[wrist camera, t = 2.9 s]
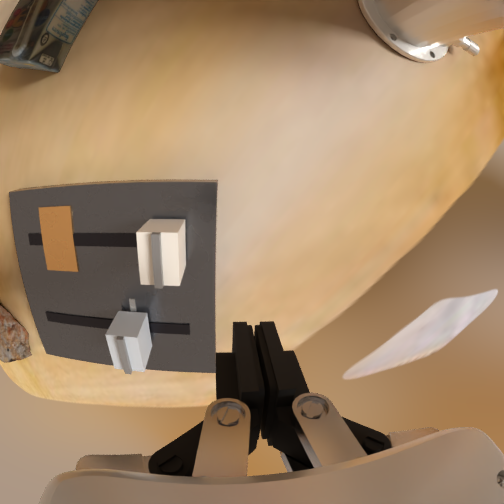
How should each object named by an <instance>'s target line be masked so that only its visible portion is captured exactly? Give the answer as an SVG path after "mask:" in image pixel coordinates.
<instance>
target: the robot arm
mask: <svg viewBox="0 0 504 504" xmlns="http://www.w3.org/2000/svg"><path fill="white" fill-rule="evenodd" d="M358 3H359V7H360V9H361V11H362V13H363V16H364V17H365V19H366V20H367V22H368V23H369V25H370V26H371V27H372V29H373V30H374V31H375V32H376V34H377V35H378V36H379V37H380V38H381V39H382V40H383V41H384V42H385V43H387V44H388V45H389V46H390V47H391V48H392V49H394V50H395V51H397V52H398V53H400V54H401V55H403V56H405V57H407V58H409V59H412V60H415V61H418V62H424V63H427V62H433V61H436V60H439V59H441V58H442V57H444V55H445V54H446V53H447V50H448V47H449V46H451V45H454V46H456V47H462V48H463V49H464V50H465V51H467V52H468V53H470V54H471V55H473V56H476V55H477V54H478V53H479V46H478V45H477V44H476V43H474V42H473V41H472V40H470V39H469V38H467V37H469V36H472V35H476V34H480V33H484V32H488V31H492V30H496V29H501V28H504V0H358ZM216 398H217V400H216V401H214V402H212V403H211V404H210V405H209V406H208V407H207V410H206V413H205V417H204V420H203V421H202V422H201V423H199V424H198V425H196V426H195V427H194V428H192V429H191V430H189V431H187V432H186V433H184V434H183V435H182V436H180V437H179V438H177V439H175V440H174V441H172V442H171V443H169V444H168V445H166V446H165V447H163V448H161V449H160V450H158V451H157V452H155V453H154V454H153V455H152V456H142V454H131V455H86V456H84V457H82V458H80V460H79V461H78V462H77V465H76V470H74V471H69V472H65V473H62V474H59V475H57V476H55V477H54V478H53V479H52V480H51V481H50V482H49V484H48V485H47V487H46V488H45V490H44V492H43V495H42V497H41V499H40V502H39V504H504V455H503V453H502V452H501V451H500V449H499V448H498V447H497V446H496V444H495V443H494V442H493V441H492V440H491V439H490V438H489V437H488V436H487V435H486V434H485V433H484V432H482V431H481V430H479V429H476V428H470V427H468V428H467V427H462V428H452V429H447V430H442V431H439V430H437V429H435V428H421V429H414V430H407V431H399V432H390V433H389V434H388V435H384V434H383V433H381V432H378V431H375V430H373V429H371V428H368V427H365V426H363V425H360V424H358V423H356V422H353V421H351V420H348V419H346V418H344V417H341V416H340V414H339V412H338V411H337V409H336V408H335V406H334V405H333V403H332V402H331V401H330V400H329V399H328V398H327V397H325V396H324V395H321V394H318V393H310V392H309V389H308V387H307V384H306V382H305V379H304V376H303V374H302V371H301V368H300V366H299V363H298V360H297V358H296V355H295V353H294V351H293V350H292V351H283V348H282V345H281V342H280V339H279V336H278V333H277V330H276V327H275V324H274V322H273V321H271V322H260V325H255V332H254V334H253V329H252V325H247V322H233V344H232V353H216ZM260 430H261V436H262V439H267V442H268V446H273V447H274V448H276V449H278V450H279V451H280V454H281V458H282V460H283V462H284V465H285V467H286V469H287V471H288V472H287V473H279V474H270V475H260V476H247V467H248V455H249V454H250V453H252V452H253V451H254V450H255V449H256V445H257V440H258V439H259V433H260Z"/></svg>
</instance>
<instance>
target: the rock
mask: <svg viewBox="0 0 504 504" xmlns="http://www.w3.org/2000/svg"><path fill="white" fill-rule="evenodd" d="M28 337H29V335H28V332H27V331H26V330H25V328H24V327H22V326H21V325H20V324H19V323H18V322H17V321H16V320H15V319H13V317H12V316H11V314H10V313H9V312H7V311H6V310H5V309H4V308H3V307H2V306H1V305H0V360H1V361H3V362H12V361H16V360H21V359H24V358H27V357H29V356H31V355H32V354H31V352H30V347H29V344H28Z"/></svg>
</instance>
